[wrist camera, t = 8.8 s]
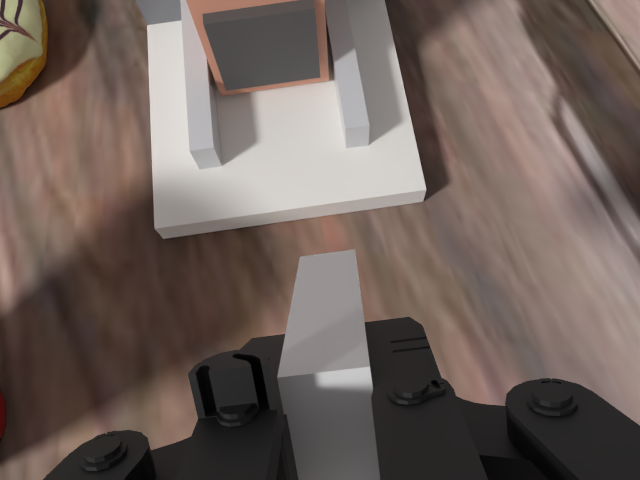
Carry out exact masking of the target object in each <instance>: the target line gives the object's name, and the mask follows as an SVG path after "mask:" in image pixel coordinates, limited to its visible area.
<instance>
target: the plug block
mask: <svg viewBox="0 0 640 480" xmlns="http://www.w3.org/2000/svg"><path fill="white" fill-rule="evenodd" d="M186 2H187V5H188V8H189V10H190V13H191V16H192V19H193V21H194V24H195V27H196V30H197V32H198V35H199V38H200V41H201V43H202V46H203V49H204V52H205V54H206V57H207V60H208V63H209V65H210V68H211V71H212V73H213V76H214V79H215V82H216V84H217V87H218V90H219V93H220V95H221V96H224V95H231V94H238V93H245V92H252V91H259V90H266V89H273V88H280V87H287V86H294V85H301V84H308V83H315V82H322V81H329V70H328V53H327V35H326V17H325V0H186Z"/></svg>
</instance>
